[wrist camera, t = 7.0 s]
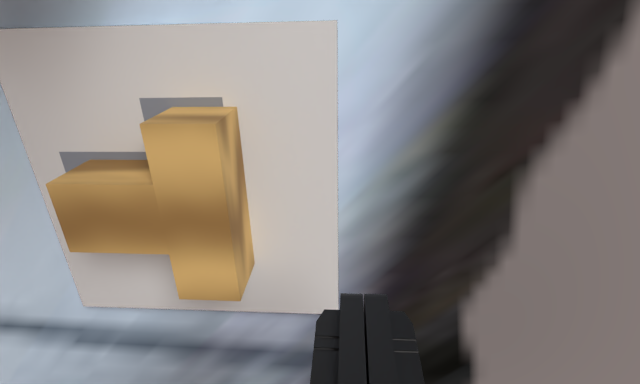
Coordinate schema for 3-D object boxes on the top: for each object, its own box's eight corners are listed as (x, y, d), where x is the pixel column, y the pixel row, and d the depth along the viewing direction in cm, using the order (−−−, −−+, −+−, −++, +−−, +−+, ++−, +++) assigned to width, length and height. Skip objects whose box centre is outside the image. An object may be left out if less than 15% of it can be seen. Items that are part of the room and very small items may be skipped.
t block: (74, 107, 20) (23, 124, 17) (236, 106, 20) (215, 123, 17) (119, 260, 25) (85, 296, 22) (254, 263, 24) (240, 301, 21)
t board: (-3, 28, 20) (-20, 29, 19) (337, 20, 19) (336, 20, 18) (92, 296, 28) (83, 306, 27) (338, 304, 26) (338, 314, 25)
